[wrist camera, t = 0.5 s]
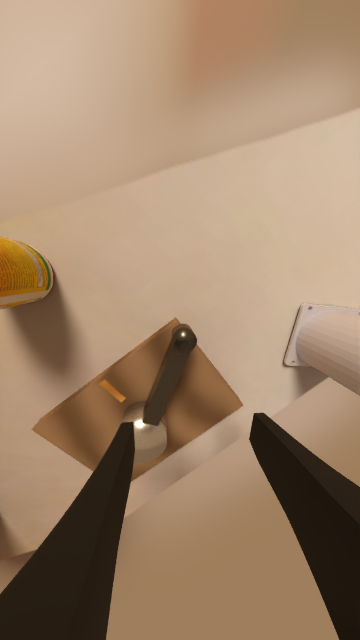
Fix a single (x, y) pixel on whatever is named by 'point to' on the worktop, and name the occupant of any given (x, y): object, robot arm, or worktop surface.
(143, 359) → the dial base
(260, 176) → the worktop surface
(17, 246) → the supplement bottle
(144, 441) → the round-headed handle tool
